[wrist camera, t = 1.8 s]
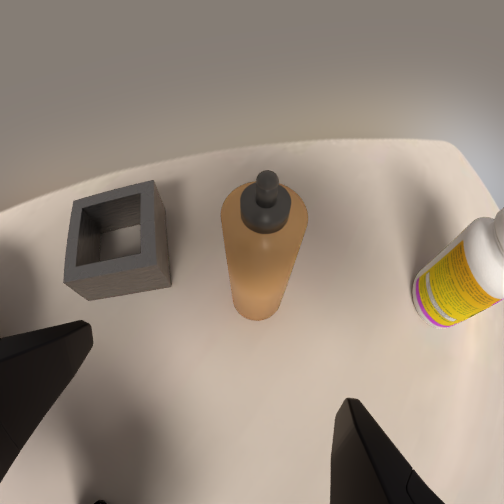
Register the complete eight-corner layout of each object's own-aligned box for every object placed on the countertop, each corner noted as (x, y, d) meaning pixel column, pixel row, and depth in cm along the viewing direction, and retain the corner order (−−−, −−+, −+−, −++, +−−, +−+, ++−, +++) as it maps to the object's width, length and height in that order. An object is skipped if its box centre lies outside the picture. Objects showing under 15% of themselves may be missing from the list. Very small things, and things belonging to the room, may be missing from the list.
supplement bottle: (441, 344, 21) (542, 297, 10) (398, 298, 24) (486, 224, 12) (466, 297, 23) (549, 237, 12) (428, 255, 26) (500, 178, 14)
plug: (290, 294, 24) (337, 173, 11) (259, 330, 22) (277, 237, 9) (254, 266, 25) (260, 129, 12) (222, 299, 24) (194, 178, 10)
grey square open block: (165, 209, 28) (153, 179, 24) (171, 286, 24) (156, 264, 20) (92, 226, 27) (73, 200, 23) (88, 300, 23) (63, 282, 19)
